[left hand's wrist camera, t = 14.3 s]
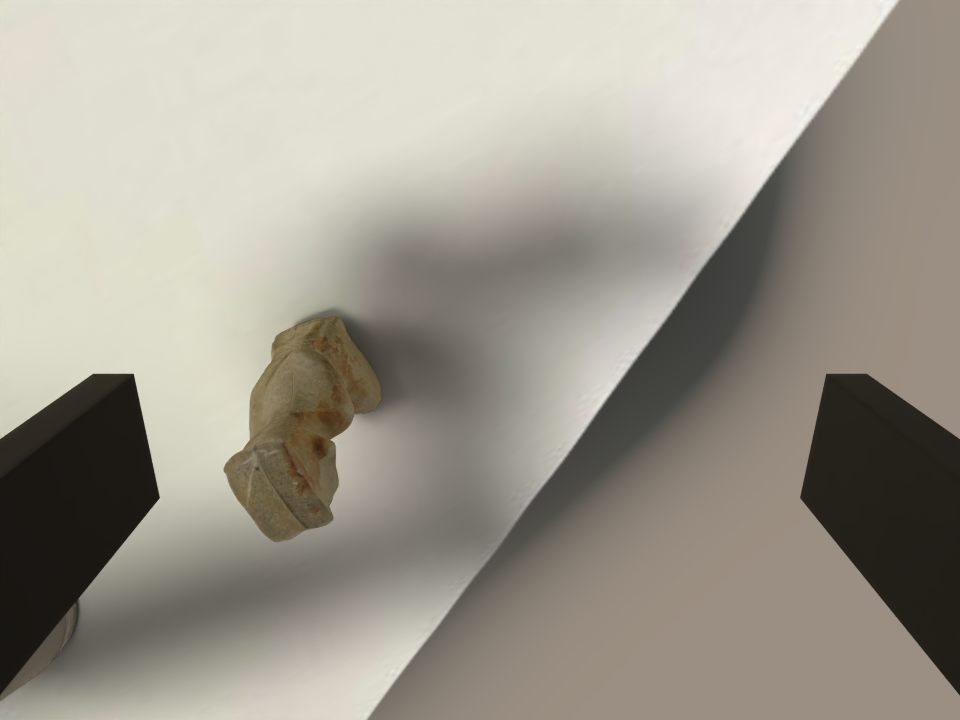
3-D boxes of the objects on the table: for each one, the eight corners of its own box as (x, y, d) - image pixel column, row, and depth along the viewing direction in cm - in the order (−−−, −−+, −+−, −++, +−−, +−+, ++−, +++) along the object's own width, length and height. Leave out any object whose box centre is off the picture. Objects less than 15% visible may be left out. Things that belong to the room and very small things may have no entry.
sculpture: (318, 420, 44) (243, 567, 30) (270, 324, 42) (164, 436, 28) (398, 393, 43) (359, 531, 29) (354, 294, 41) (289, 394, 27)
